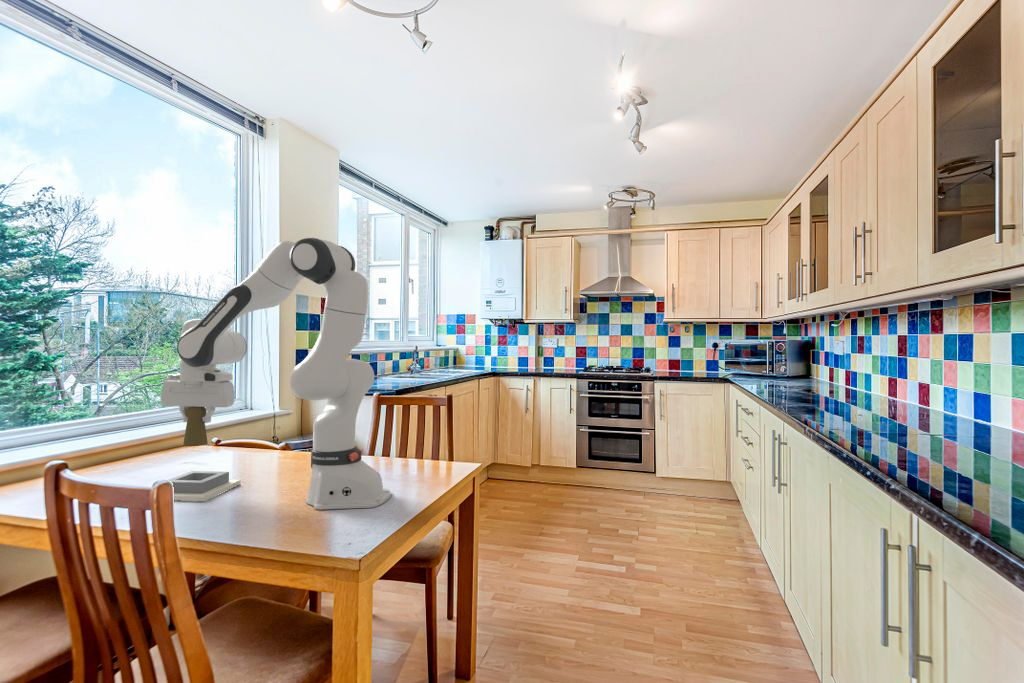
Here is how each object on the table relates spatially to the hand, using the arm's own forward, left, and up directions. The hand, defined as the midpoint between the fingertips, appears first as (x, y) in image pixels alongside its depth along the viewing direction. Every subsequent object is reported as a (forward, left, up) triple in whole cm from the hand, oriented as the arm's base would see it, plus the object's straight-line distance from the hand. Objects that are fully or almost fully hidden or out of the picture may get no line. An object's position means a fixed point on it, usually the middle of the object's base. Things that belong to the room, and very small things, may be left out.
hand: (197, 422), depth 141 cm
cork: (0, 0, -7) cm, 7 cm away
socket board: (0, 0, -20) cm, 20 cm away
